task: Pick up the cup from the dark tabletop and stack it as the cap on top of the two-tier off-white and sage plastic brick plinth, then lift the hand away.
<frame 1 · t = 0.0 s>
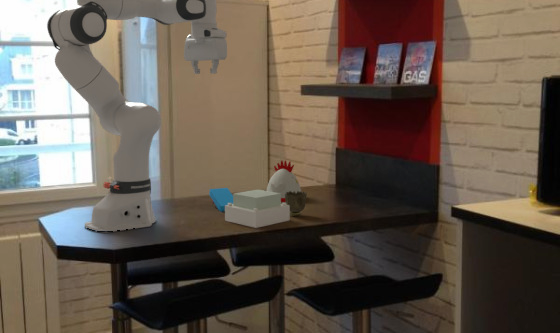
hand: (205, 73, 223), 48 cm above the breakfast bar, tool pointing down, fingers open, 8 cm apart
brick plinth: (257, 220, 210), on the breakfast bar
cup: (295, 216, 217), on the breakfast bar
kitchen timer: (283, 199, 248), on the breakfast bar
blue long block: (222, 207, 234), on the breakfast bar
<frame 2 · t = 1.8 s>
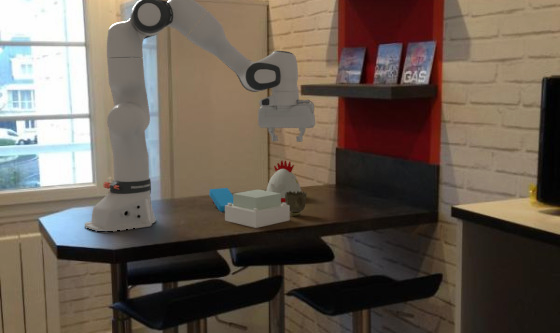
hand: (287, 141, 215), 25 cm above the breakfast bar, tool pointing down, fingers open, 8 cm apart
nothing on the breakfast bar moved.
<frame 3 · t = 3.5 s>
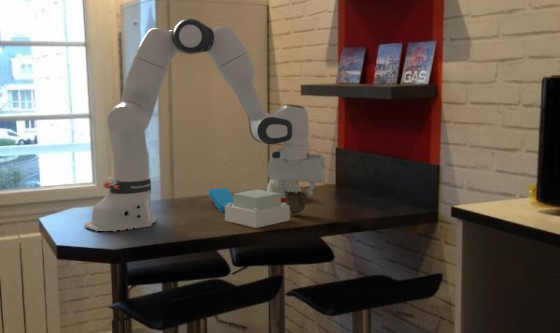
hand: (296, 193, 216), 8 cm above the breakfast bar, tool pointing down, fingers open, 8 cm apart
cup: (295, 216, 217), on the breakfast bar, touching gripper
everything else where it was.
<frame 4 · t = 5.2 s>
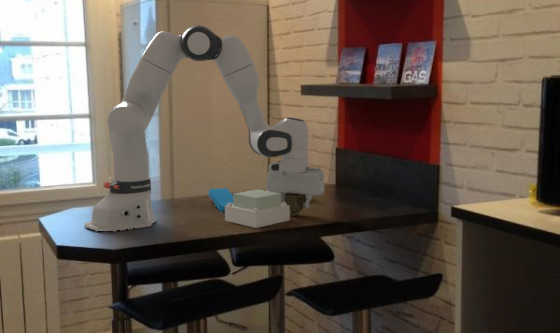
hand: (295, 206, 216), 3 cm above the breakfast bar, tool pointing down, fingers closed on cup, 7 cm apart
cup: (295, 216, 217), on the breakfast bar, touching gripper
everything else where it was.
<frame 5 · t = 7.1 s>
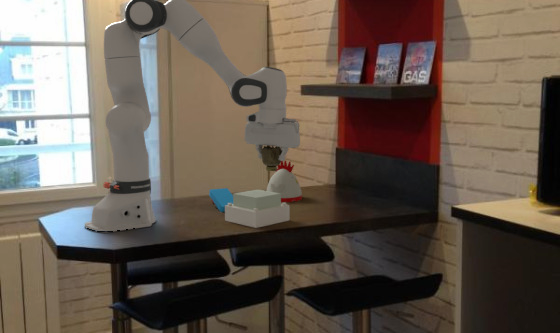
hand: (271, 159, 210), 20 cm above the breakfast bar, tool pointing down, fingers closed on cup, 7 cm apart
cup: (271, 171, 211), point 16 cm above the breakfast bar, touching gripper
everything else where it was.
when the fingers open (14 cm above the breakfast bar, at t = 9.6 s): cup moves 1 cm, resting on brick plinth.
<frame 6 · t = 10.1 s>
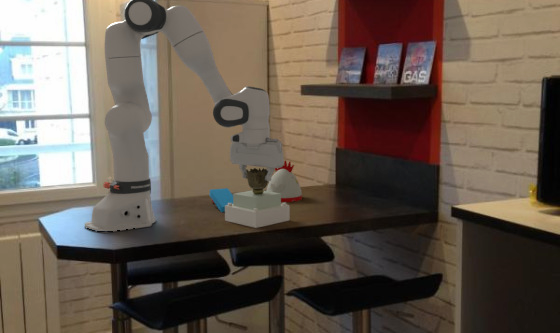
hand: (256, 179, 208), 14 cm above the breakfast bar, tool pointing down, fingers open, 8 cm apart
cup: (258, 194, 209), point 9 cm above the breakfast bar, touching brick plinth, gripper
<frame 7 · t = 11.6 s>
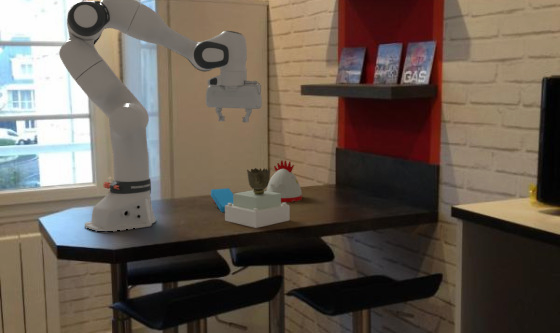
hand: (233, 121, 216), 32 cm above the breakfast bar, tool pointing down, fingers open, 8 cm apart
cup: (258, 194, 208), point 9 cm above the breakfast bar, touching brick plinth
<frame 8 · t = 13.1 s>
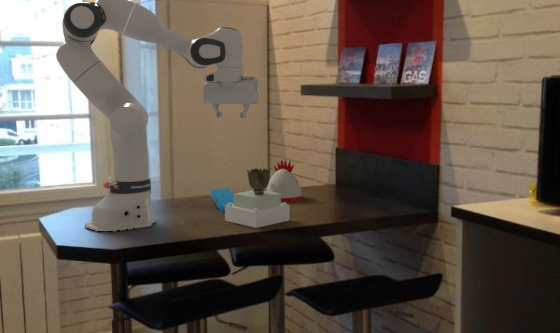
hand: (230, 117, 218), 33 cm above the breakfast bar, tool pointing down, fingers open, 8 cm apart
at the end: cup inside the target area on the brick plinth (0.9 cm from its centre), point 8.8 cm above the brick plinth's base; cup tilted 0°; the gripper is holding nothing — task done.
